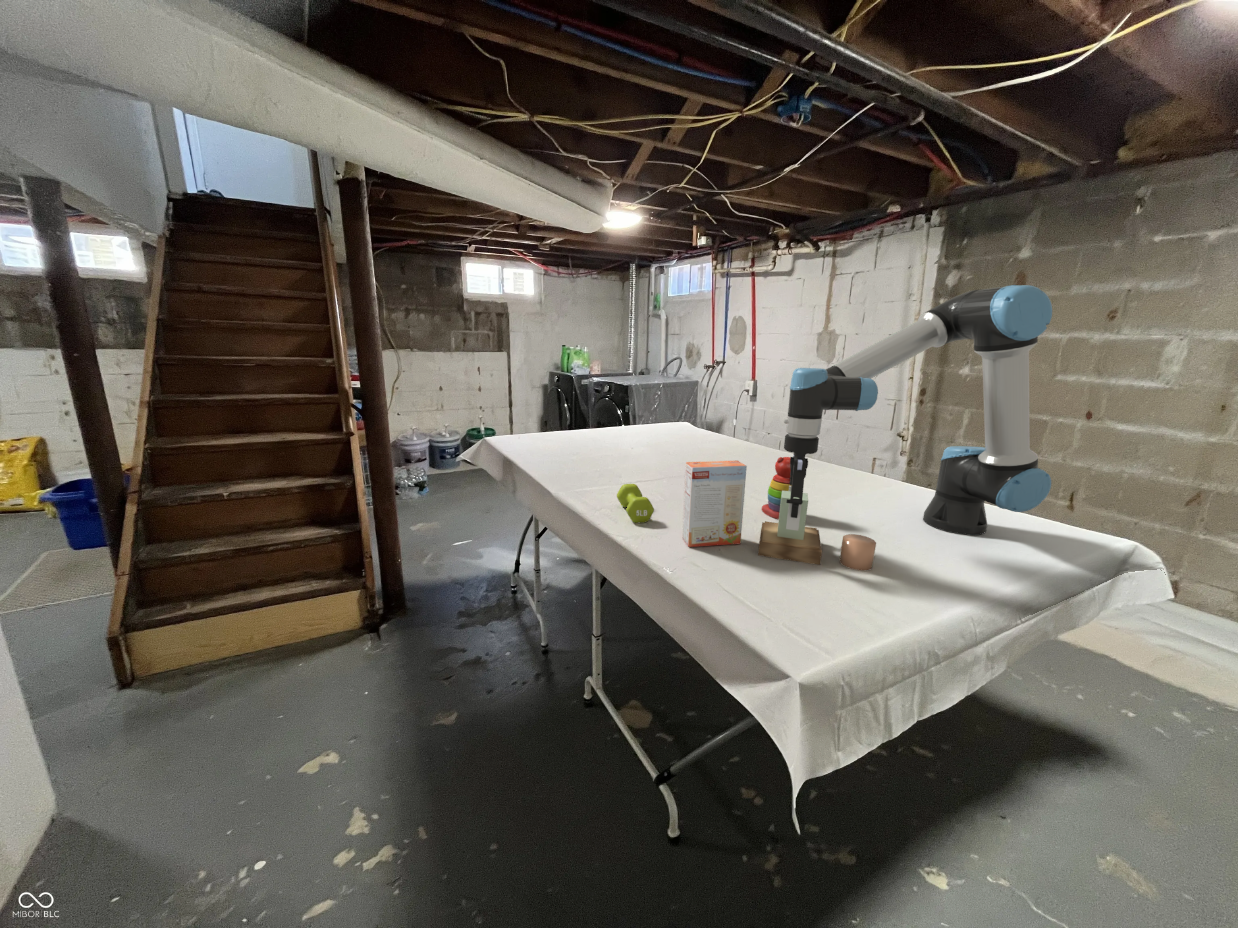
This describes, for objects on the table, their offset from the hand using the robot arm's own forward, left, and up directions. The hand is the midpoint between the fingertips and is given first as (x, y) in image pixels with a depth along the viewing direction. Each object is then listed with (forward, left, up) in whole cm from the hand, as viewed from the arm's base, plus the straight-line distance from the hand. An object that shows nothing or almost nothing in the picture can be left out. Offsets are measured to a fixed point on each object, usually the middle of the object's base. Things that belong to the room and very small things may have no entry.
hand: (791, 519), depth 119 cm
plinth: (0, 0, -8) cm, 8 cm away
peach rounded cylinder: (-15, +3, -8) cm, 17 cm away
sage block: (0, 0, -4) cm, 4 cm away
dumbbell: (+43, -9, -8) cm, 45 cm away
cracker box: (+19, +3, -8) cm, 21 cm away
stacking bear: (+2, -25, -8) cm, 26 cm away
